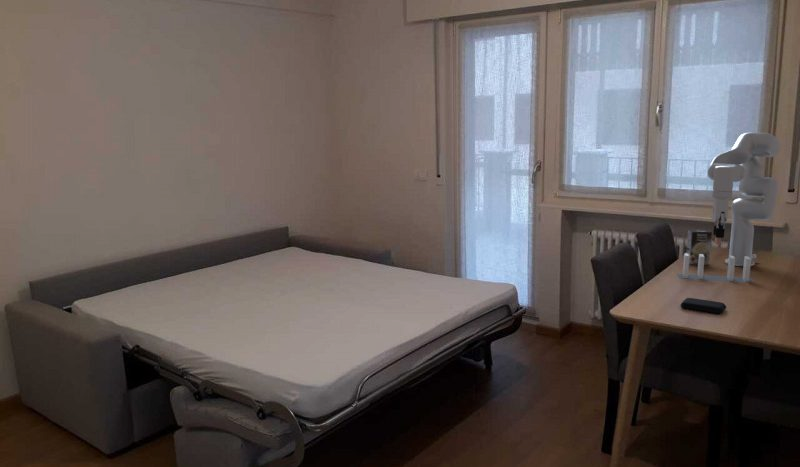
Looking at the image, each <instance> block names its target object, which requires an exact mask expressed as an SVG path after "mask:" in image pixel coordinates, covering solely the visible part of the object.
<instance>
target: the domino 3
mask: <svg viewBox="0 0 800 467" xmlns="http://www.w3.org/2000/svg"><path fill="white" fill-rule="evenodd" d="M728 259H729V261H728V264H727V276H726V277H727V278H728V280H729V281H733V278H734V277H735V268H736V266H735V257H734V256H729V255H728Z"/></svg>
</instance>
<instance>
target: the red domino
mask: <svg viewBox="0 0 800 467" xmlns="http://www.w3.org/2000/svg"><path fill="white" fill-rule="evenodd" d="M719 221H721V220H719ZM716 228H717V223H716ZM714 236H716V235H714ZM714 243H715V245H716V246H717V245H718V246H721V245H722V238H716V237H714Z"/></svg>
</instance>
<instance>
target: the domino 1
mask: <svg viewBox="0 0 800 467" xmlns="http://www.w3.org/2000/svg"><path fill="white" fill-rule="evenodd" d="M682 262H683V266H682V274H683V277H684V278H688V274H689V268H690V267H689V265H690V264H689V254H688V253H686V252H685V253H684V254H683V261H682Z"/></svg>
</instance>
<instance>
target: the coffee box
mask: <svg viewBox="0 0 800 467" xmlns="http://www.w3.org/2000/svg"><path fill="white" fill-rule="evenodd" d="M712 232H713V231H710V230H709V229H687V238H686V248H685V253H688V254H689V265H698V260H699V254H703V255H704V257H705V258H704V266H705V265H706V266H707V265H708V266H709V264H710V256H711V247H712V246H711V245H712V235H713V233H712Z"/></svg>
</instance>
